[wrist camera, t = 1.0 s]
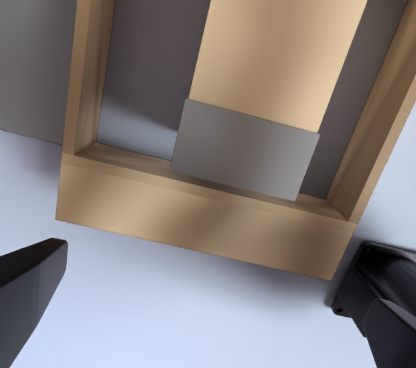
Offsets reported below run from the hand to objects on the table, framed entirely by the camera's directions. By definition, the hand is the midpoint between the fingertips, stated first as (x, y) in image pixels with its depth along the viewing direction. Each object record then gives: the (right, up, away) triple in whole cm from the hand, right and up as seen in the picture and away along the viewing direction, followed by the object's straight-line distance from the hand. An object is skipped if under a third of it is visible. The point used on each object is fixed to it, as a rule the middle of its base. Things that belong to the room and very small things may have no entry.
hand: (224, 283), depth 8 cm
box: (+2, +10, +10) cm, 14 cm away
